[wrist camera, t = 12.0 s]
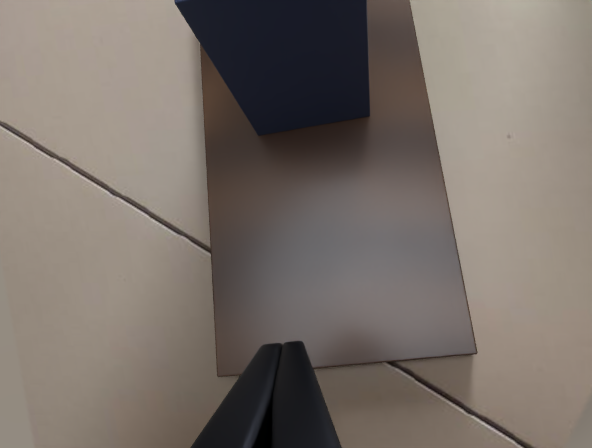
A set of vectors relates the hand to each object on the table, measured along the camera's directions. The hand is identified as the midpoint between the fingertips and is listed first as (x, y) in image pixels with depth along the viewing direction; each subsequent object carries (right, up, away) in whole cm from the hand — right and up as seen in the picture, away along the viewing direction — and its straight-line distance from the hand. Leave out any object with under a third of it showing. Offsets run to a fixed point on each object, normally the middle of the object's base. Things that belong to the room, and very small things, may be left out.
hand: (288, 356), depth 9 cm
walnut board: (+1, +7, +14) cm, 16 cm away
